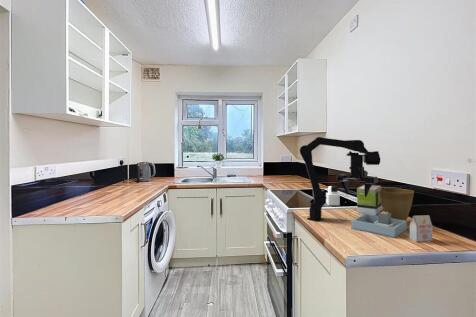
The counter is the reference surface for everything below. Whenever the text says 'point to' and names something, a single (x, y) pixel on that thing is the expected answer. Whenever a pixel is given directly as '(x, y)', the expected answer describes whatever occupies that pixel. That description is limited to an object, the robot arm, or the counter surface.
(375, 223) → the frame
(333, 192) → the medicine bottle
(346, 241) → the counter surface
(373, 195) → the tea box
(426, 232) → the milk carton
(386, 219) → the connector
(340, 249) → the counter surface
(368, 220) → the walled box
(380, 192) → the plant pot
